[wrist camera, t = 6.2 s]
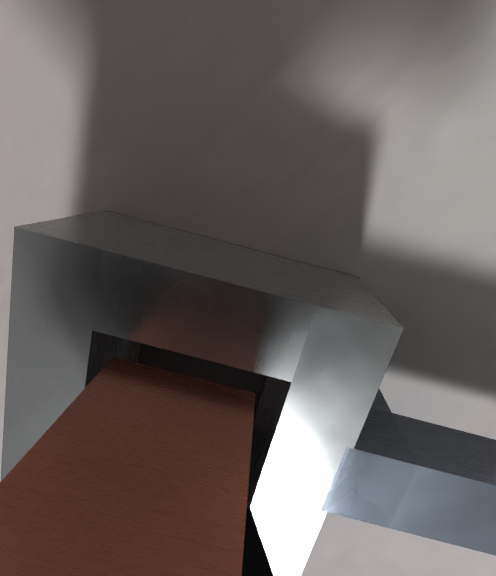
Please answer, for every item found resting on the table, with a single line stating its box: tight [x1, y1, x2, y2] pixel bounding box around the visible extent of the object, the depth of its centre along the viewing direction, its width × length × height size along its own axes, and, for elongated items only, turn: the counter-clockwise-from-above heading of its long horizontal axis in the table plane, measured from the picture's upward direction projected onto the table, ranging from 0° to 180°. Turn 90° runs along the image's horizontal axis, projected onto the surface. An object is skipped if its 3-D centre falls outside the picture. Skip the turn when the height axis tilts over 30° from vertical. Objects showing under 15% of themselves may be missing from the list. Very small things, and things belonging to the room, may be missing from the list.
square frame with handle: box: [1, 211, 496, 576], centre depth 13 cm, size 20×10×5 cm, turn 76°
